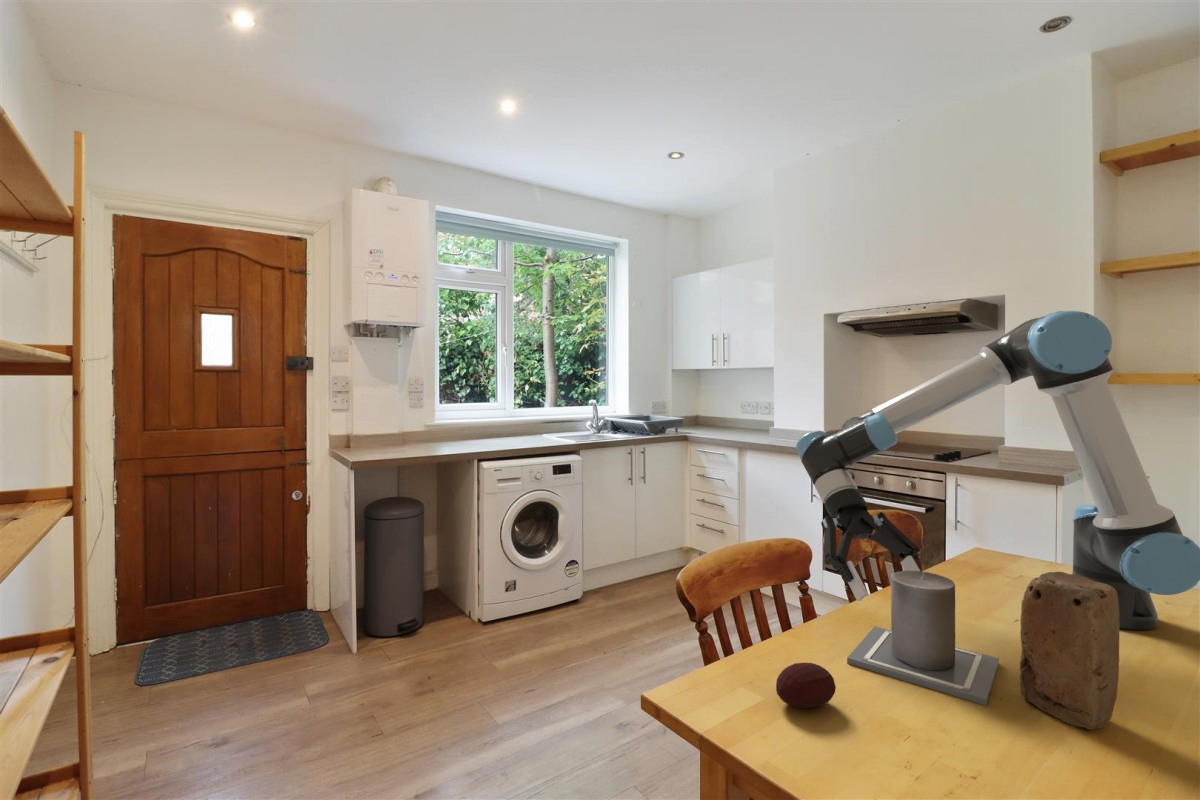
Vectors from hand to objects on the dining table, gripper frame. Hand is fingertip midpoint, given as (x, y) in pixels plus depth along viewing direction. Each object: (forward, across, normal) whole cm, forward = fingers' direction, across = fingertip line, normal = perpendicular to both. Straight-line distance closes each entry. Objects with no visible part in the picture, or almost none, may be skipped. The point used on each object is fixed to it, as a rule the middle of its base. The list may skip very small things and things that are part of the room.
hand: (894, 594), depth 105 cm
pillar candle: (+11, 0, -2) cm, 11 cm away
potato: (+16, +28, +2) cm, 32 cm away
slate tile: (+12, 0, -2) cm, 12 cm away
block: (+24, -8, +10) cm, 27 cm away
